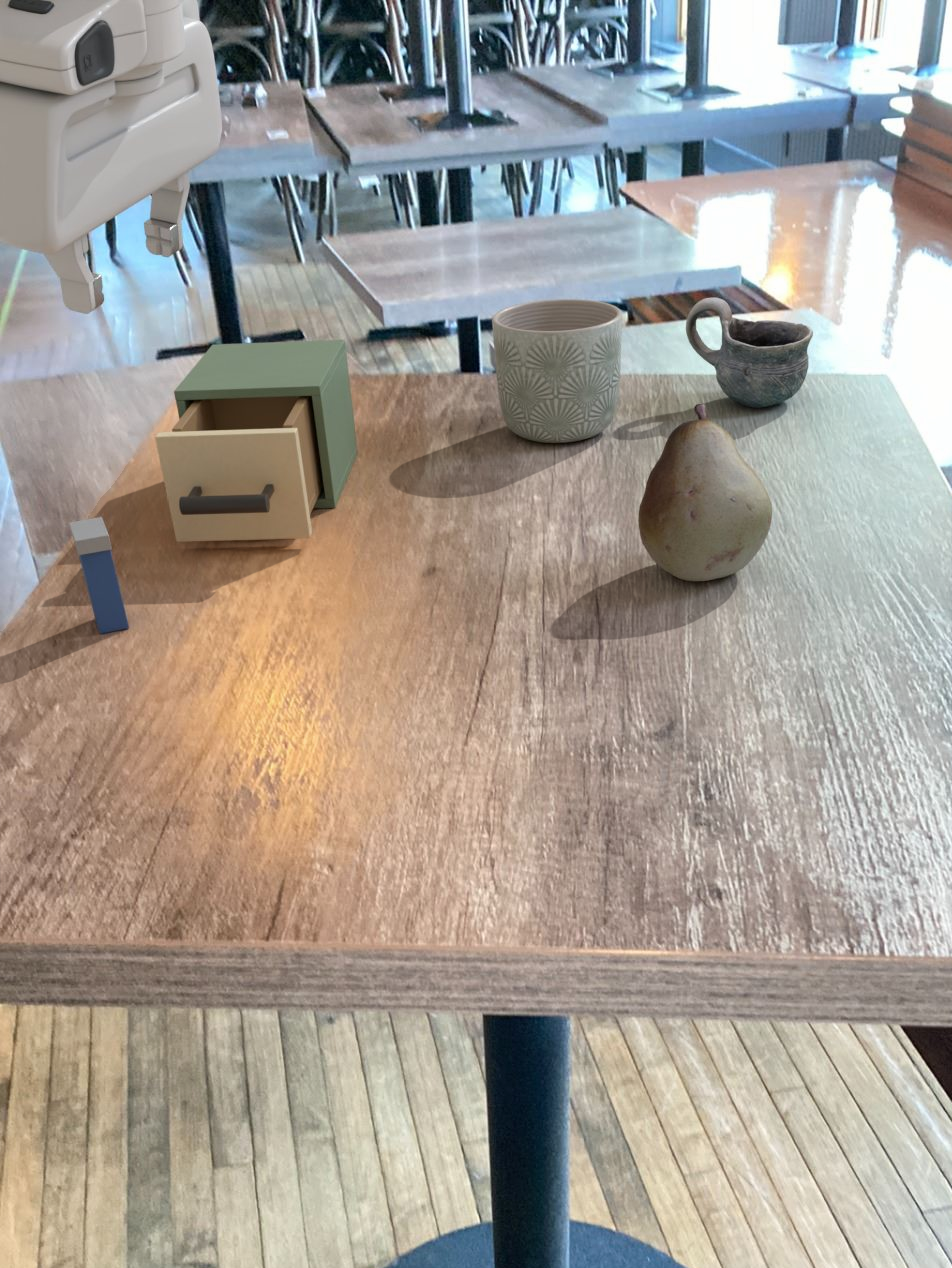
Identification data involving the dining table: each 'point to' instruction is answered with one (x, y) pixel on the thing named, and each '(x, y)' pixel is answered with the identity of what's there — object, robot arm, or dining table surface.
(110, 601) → the blue upright block
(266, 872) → the dining table surface
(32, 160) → the robot arm
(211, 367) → the cabinet
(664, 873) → the dining table surface
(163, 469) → the drawer
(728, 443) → the fruit
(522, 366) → the planter
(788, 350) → the mug
